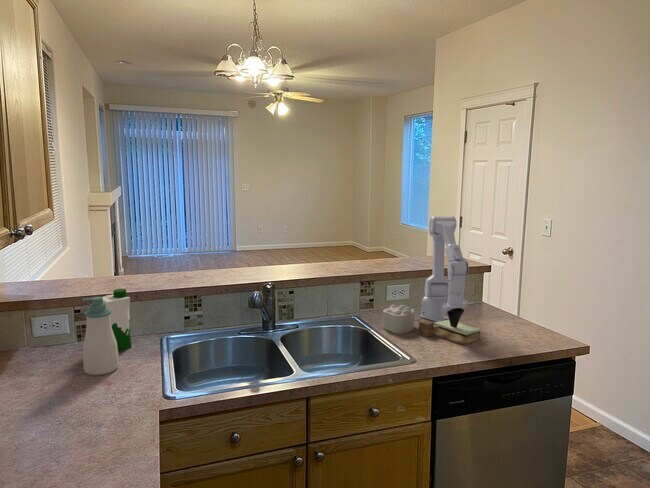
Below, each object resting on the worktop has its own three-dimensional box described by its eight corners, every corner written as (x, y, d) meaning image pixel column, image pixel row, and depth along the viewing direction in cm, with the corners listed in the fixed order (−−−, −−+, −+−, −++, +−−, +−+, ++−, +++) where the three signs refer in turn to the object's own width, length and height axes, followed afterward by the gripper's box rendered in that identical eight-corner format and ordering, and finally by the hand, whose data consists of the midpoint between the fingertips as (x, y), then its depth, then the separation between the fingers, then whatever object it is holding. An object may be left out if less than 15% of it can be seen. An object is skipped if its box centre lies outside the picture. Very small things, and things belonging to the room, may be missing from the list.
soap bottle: (86, 365, 145) (81, 295, 141) (120, 361, 148) (116, 292, 144) (81, 378, 136) (76, 304, 132) (118, 373, 139) (113, 301, 135)
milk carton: (135, 347, 159) (132, 291, 156) (108, 354, 152) (105, 296, 149) (124, 340, 165) (121, 286, 162) (98, 347, 158) (94, 291, 155)
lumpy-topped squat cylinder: (378, 327, 184) (379, 306, 183) (401, 321, 192) (402, 301, 191) (397, 334, 176) (398, 313, 175) (420, 328, 184) (421, 307, 183)
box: (433, 334, 177) (433, 327, 177) (448, 328, 184) (448, 321, 183) (465, 345, 167) (465, 337, 166) (479, 339, 173) (480, 331, 173)
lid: (433, 324, 177) (434, 322, 177) (448, 321, 183) (448, 319, 183) (465, 335, 166) (466, 332, 166) (480, 331, 173) (480, 329, 173)
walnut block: (418, 334, 178) (418, 321, 177) (424, 331, 180) (425, 319, 179) (426, 337, 175) (427, 324, 174) (433, 334, 177) (433, 322, 177)
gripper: (454, 297, 163) (451, 334, 165) (476, 291, 173) (473, 325, 175) (437, 293, 169) (435, 328, 171) (459, 287, 178) (457, 321, 180)
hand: (453, 327), depth 173 cm, fingers closed, pressing on lid
